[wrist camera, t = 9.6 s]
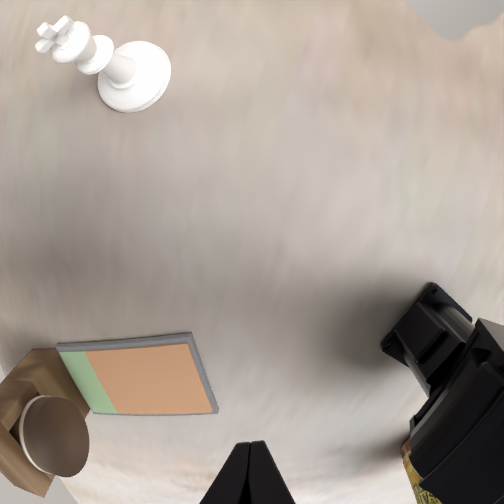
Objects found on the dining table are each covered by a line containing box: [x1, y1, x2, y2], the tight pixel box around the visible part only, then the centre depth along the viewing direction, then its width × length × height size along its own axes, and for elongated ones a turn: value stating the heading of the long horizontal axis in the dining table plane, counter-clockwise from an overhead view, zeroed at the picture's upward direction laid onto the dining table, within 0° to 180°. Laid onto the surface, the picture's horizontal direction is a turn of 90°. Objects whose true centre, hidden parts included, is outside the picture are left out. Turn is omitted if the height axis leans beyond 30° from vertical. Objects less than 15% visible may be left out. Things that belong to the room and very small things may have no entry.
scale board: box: [56, 333, 219, 416], centre depth 23 cm, size 13×8×1 cm, turn 101°
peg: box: [9, 395, 89, 477], centre depth 17 cm, size 8×6×6 cm
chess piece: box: [35, 15, 171, 113], centre depth 12 cm, size 5×5×10 cm
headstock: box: [0, 349, 90, 497], centre depth 18 cm, size 4×7×12 cm, turn 11°
